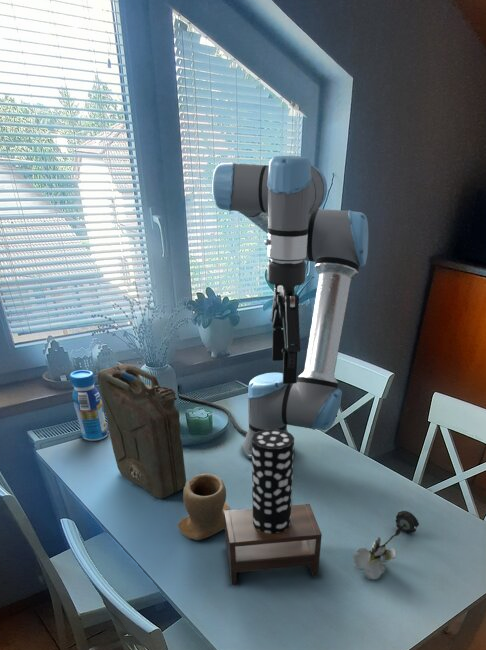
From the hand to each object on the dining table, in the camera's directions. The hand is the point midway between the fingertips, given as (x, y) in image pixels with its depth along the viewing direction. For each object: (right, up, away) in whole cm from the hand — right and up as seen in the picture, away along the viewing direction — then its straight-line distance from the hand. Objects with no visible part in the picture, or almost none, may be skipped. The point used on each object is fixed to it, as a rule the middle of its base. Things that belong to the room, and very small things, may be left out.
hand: (283, 371), depth 114 cm
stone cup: (-18, -33, +18) cm, 42 cm away
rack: (-3, -42, +8) cm, 43 cm away
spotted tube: (-3, -34, 0) cm, 34 cm away
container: (-37, -18, +34) cm, 54 cm away
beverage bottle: (-60, +1, +54) cm, 81 cm away
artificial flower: (+25, -40, +12) cm, 49 cm away
